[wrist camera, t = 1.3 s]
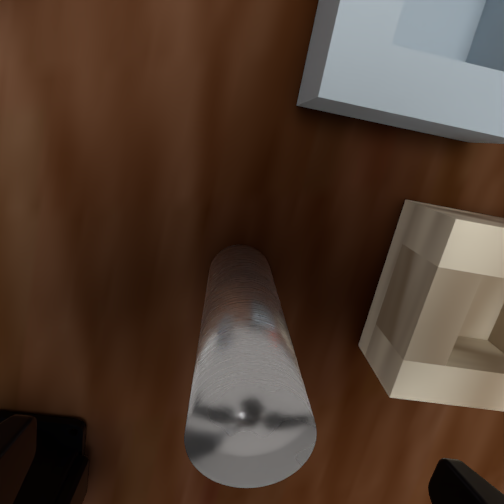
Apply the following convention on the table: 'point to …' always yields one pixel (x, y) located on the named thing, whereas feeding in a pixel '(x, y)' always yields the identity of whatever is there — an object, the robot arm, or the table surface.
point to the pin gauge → (246, 380)
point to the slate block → (410, 65)
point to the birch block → (440, 309)
